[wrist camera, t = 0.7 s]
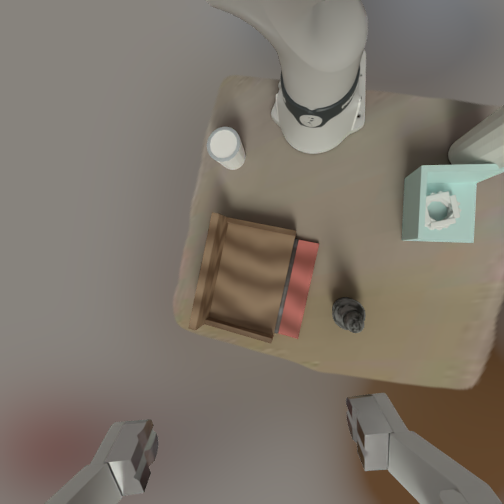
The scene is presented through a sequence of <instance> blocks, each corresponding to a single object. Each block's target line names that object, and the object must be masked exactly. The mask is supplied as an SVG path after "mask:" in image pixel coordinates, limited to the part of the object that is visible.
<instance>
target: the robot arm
mask: <svg viewBox="0 0 504 504" xmlns="http://www.w3.org/2000/svg"><path fill="white" fill-rule="evenodd" d="M206 1H207V2H208V3H209V4H210V5H211V6H212V7H214V8H217V9H220V10H222V11H225V12H228V13H230V14H233V15H234V16H236V17H238V18H240V19H242V20H244V21H245V22H247V23H248V24H250V25H251V26H252V27H254V28H255V29H256V30H257V31H259V32H260V33H261V34H262V35H263V36H264V37H265V38H266V39H267V40H268V41H269V42H270V43H271V44H272V46H273V47H274V48H275V50H276V51H277V54H278V57H279V61H280V65H281V80H280V81H279V84H278V88H280V89H279V92H278V93H277V94H276V101H275V104H274V106H273V109H272V111H271V117H272V119H273V121H274V122H275V123H277V124H278V125H279V126H280V128H281V130H282V132H283V135H284V137H285V139H286V140H287V141H288V143H289V144H290V145H291V146H292V147H294V148H295V149H297V150H299V151H301V152H305V153H312V154H315V153H322V152H326V151H328V150H331V149H332V148H334V147H336V146H337V145H338V144H340V143H341V142H342V141H343V140H344V139H345V138H346V137H347V136H348V135H349V134H351V133H354V132H356V131H358V130H360V129H361V128H362V127H363V126H364V122H365V87H366V52H365V50H364V47H365V44H366V40H367V36H368V19H367V14H366V11H365V8H364V6H363V4H362V2H361V0H206ZM357 115H359V116H360V118H357ZM346 405H347V407H348V411H347V422H348V427H349V430H350V434H351V436H352V439H353V440H354V441H355V442H356V443H357V452H358V455H359V457H360V460H361V462H362V465H363V468H364V470H365V471H370V470H385V469H388V471H389V472H390V473H391V474H392V475H393V476H394V477H395V478H396V479H397V480H398V481H399V482H400V483H401V484H402V485H403V486H404V487H405V488H406V489H407V490H408V491H409V492H410V493H411V495H413V496H414V498H415V499H416V500H417V501H418V502H419V503H420V504H502V502H501V501H500V500H499V498H498V497H497V496H496V494H495V493H494V492H493V490H492V489H491V488H490V486H489V485H488V484H486V483H485V482H484V481H482V480H481V479H479V478H478V477H477V476H475V475H474V474H472V473H471V472H470V471H468V470H467V469H465V468H464V467H463V466H461V465H460V464H458V463H457V462H456V461H454V460H453V459H451V458H450V457H449V456H447V455H446V454H444V453H443V452H441V451H440V450H439V449H437V448H436V447H434V446H433V445H432V444H430V443H429V442H427V441H426V440H425V439H423V438H422V437H420V436H419V435H418V434H416V433H415V432H413V431H408V429H407V427H406V426H405V424H404V423H403V421H402V420H401V418H400V416H399V414H398V413H397V411H396V410H395V408H394V406H393V405H392V403H391V401H390V400H389V398H388V396H387V395H386V394H385V393H378V394H368V395H360V396H352V397H347V398H346ZM153 426H154V425H153V422H152V420H149V419H148V420H137V421H125V422H115V423H114V424H113V425H111V427H110V429H109V431H108V432H107V434H106V436H105V438H104V440H103V441H102V443H101V445H100V447H99V449H98V451H97V453H96V454H95V456H94V458H93V460H92V462H91V463H90V465H86V466H85V467H84V468H83V469H82V470H81V471H79V472H78V473H77V474H76V475H75V476H74V477H73V478H72V479H71V480H70V481H69V482H67V483H66V484H65V485H64V486H63V487H62V488H61V489H60V490H59V491H58V492H57V493H55V494H54V495H53V496H52V497H51V498H50V499H49V500H48V501H47V502H46V503H45V504H118V502H119V501H120V500H121V499H122V496H126V495H133V494H141V493H144V492H145V489H146V486H147V483H148V480H149V477H150V474H151V472H150V469H149V466H150V465H151V464H152V463H153V462H154V461H155V458H156V455H157V451H158V437H157V434H156V432H154V431H153V430H152V428H153Z"/></svg>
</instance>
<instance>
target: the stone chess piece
mask: <svg viewBox="0 0 504 504" xmlns="http://www.w3.org/2000/svg"><path fill="white" fill-rule="evenodd" d="M332 311H333V313H332V315H333V319H334V321H335V323H336V324H337V325H338V326H339V327H340V328H343V329H345V330H349V331H351V332H353V333H359V332H361V331H362V330H363V328H364V320H365V310H364V308H363V306H362V305H361V304H360V303H359V302H357V301H355V300H353V299H351V298H348V297H343V298H340V299H338V300H337V301H336V302H335V303H334V305H333V308H332Z"/></svg>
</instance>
